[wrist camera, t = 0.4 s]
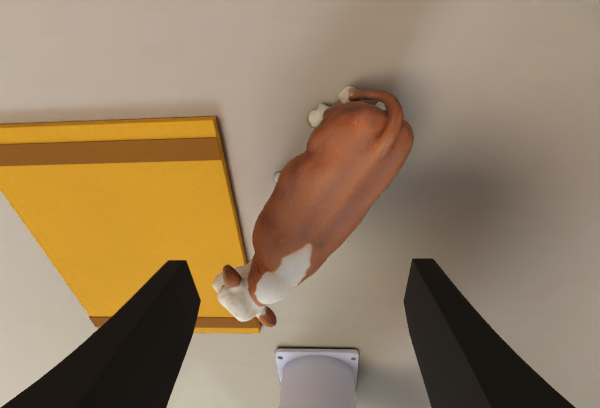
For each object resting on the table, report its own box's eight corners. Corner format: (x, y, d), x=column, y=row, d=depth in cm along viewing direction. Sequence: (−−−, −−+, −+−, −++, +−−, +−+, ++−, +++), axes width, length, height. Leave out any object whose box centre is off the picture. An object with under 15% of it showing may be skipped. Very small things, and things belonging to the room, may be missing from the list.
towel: (260, 327, 30) (259, 334, 29) (104, 326, 31) (100, 333, 30) (216, 115, 18) (212, 120, 17) (-34, 125, 19) (-45, 130, 19)
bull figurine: (224, 218, 22) (184, 322, 16) (352, 43, 16) (376, 97, 9) (277, 247, 24) (261, 354, 17) (416, 97, 17) (478, 178, 10)
